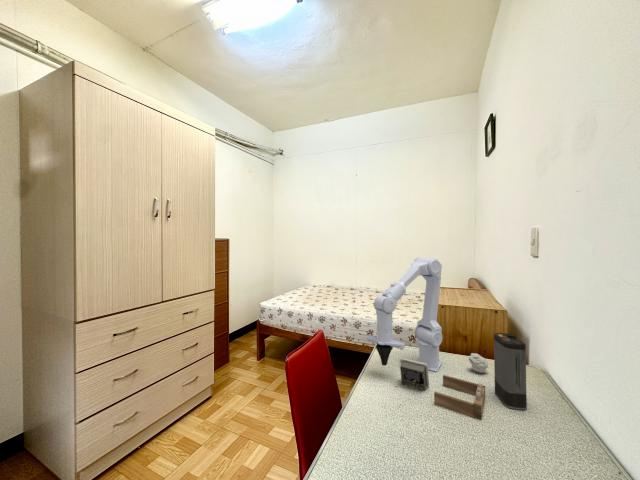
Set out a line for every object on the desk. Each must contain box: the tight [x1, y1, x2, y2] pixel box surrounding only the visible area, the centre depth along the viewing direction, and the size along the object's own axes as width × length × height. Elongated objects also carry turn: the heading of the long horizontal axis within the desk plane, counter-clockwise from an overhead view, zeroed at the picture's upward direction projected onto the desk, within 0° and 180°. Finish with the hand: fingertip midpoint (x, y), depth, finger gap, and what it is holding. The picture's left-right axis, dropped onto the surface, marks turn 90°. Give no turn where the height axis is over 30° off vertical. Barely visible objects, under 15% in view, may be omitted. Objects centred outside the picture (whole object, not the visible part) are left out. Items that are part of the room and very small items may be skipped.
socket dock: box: [433, 374, 486, 421], centre depth 83 cm, size 14×12×6 cm
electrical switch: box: [399, 357, 430, 392], centre depth 91 cm, size 9×5×9 cm, turn 57°
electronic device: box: [493, 332, 528, 411], centre depth 83 cm, size 9×6×20 cm, turn 168°
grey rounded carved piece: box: [467, 352, 489, 374], centre depth 102 cm, size 6×7×7 cm
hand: (384, 364), depth 98 cm, fingers closed
